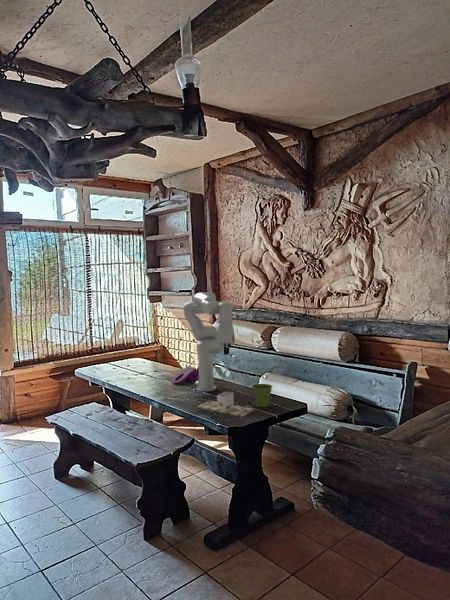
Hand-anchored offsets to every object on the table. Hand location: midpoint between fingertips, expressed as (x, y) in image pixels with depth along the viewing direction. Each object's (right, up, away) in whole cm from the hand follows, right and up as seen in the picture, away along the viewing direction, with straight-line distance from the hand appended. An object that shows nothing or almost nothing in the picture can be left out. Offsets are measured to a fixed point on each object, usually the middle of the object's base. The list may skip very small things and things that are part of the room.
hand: (226, 354), depth 269 cm
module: (-1, -27, -17) cm, 32 cm away
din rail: (0, -28, -17) cm, 33 cm away
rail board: (0, -28, -17) cm, 33 cm away
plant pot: (+20, -28, -12) cm, 36 cm away
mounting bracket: (-29, -25, +46) cm, 60 cm away
